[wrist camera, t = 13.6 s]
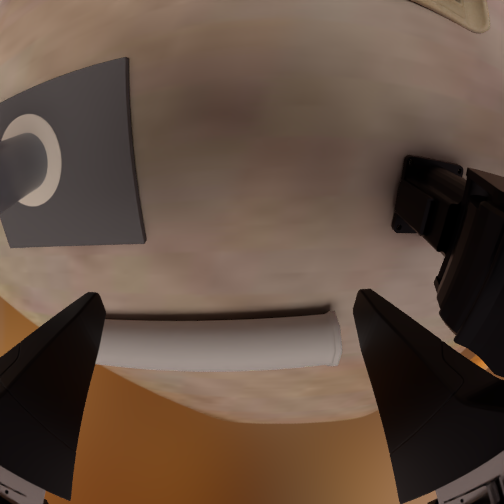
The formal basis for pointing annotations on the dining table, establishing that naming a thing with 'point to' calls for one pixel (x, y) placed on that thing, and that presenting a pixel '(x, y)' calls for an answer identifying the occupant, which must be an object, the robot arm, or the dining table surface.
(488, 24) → the wooden puzzle
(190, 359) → the tube
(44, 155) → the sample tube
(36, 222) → the mat
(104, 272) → the dining table surface
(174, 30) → the dining table surface
